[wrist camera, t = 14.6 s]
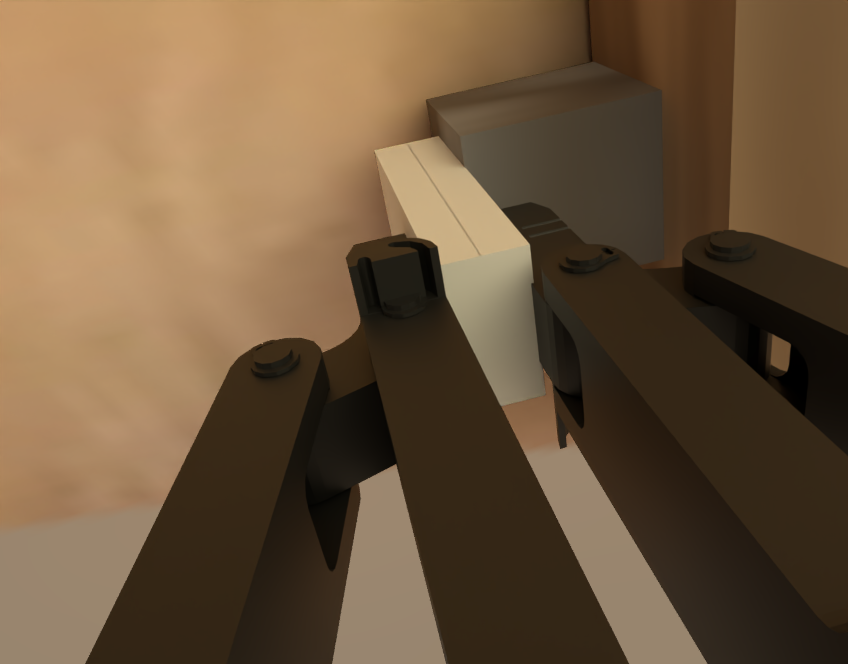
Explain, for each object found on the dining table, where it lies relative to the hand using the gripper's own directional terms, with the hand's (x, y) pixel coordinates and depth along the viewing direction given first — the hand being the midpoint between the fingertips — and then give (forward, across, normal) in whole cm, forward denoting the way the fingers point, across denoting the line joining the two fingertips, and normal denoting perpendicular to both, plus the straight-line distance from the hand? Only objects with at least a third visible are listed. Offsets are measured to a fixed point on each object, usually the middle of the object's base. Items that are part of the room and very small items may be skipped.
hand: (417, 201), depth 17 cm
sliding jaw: (+1, +4, 0) cm, 4 cm away
